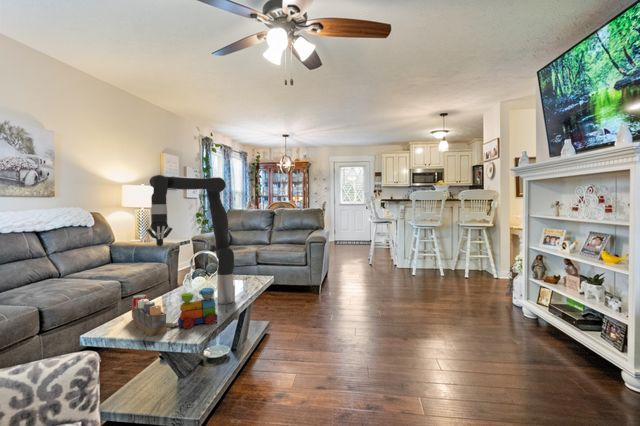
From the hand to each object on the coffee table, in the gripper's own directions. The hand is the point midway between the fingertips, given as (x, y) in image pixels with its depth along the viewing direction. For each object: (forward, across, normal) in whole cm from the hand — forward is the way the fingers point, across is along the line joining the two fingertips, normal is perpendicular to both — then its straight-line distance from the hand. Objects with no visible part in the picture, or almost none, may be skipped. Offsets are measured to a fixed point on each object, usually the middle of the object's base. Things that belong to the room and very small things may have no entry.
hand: (159, 246), depth 166 cm
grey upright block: (+32, +10, +13) cm, 36 cm away
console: (+37, +10, +13) cm, 40 cm away
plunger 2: (+32, +10, +21) cm, 39 cm away
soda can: (+37, +9, -3) cm, 38 cm away
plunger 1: (+32, +10, +6) cm, 34 cm away
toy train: (+38, -5, +22) cm, 44 cm away
